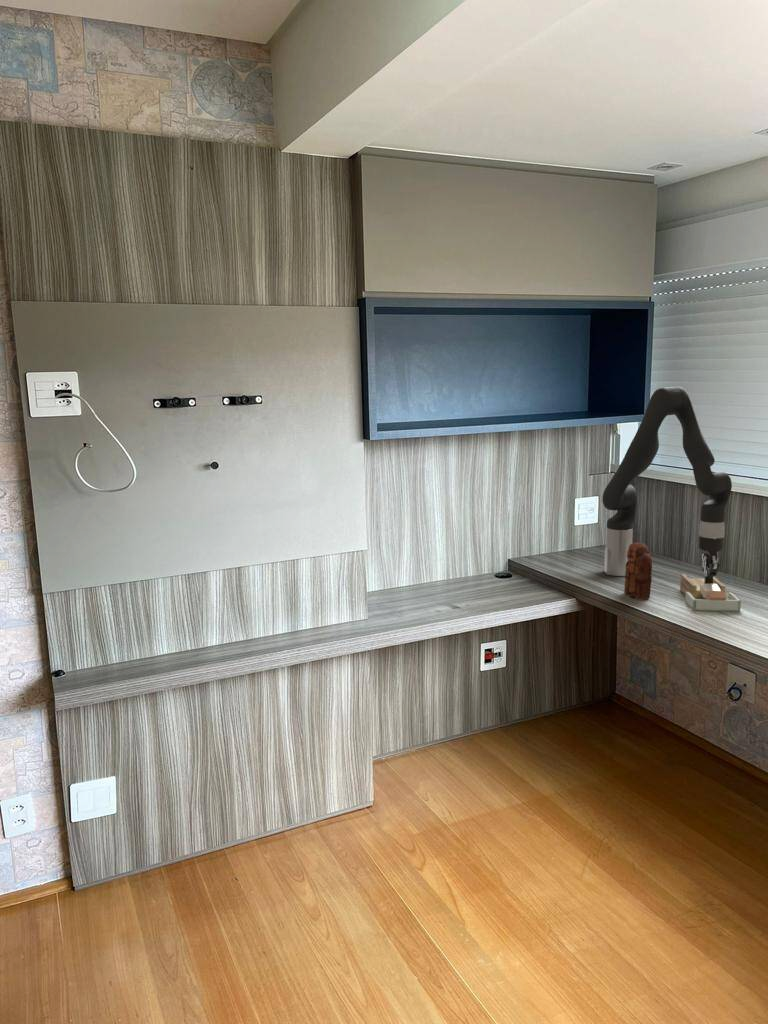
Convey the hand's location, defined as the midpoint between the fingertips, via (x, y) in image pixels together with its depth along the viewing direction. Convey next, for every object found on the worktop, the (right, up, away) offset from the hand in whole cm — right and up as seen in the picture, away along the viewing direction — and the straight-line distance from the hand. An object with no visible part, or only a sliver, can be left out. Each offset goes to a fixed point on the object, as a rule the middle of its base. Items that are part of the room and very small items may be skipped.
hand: (708, 587), depth 248 cm
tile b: (-1, -2, -6) cm, 7 cm away
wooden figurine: (-20, -4, +9) cm, 23 cm away
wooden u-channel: (+1, -4, +7) cm, 8 cm away
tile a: (-1, -2, -3) cm, 4 cm away
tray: (-1, -6, -5) cm, 8 cm away
